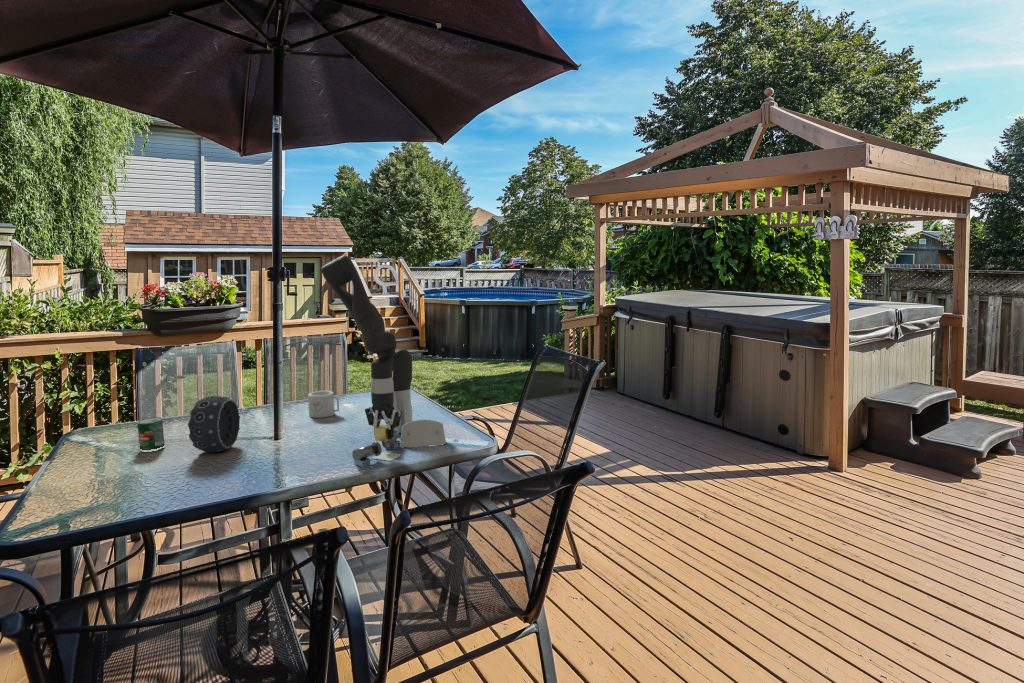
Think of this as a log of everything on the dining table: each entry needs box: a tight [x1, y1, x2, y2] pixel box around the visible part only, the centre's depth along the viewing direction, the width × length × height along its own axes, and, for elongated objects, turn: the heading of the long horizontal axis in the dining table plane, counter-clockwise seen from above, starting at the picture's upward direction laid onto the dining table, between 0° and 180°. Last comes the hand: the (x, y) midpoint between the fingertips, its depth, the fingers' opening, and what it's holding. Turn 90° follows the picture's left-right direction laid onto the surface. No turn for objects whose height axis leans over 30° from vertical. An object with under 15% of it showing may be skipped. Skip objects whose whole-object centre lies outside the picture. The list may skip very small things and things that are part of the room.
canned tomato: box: [136, 416, 166, 450], centre depth 216 cm, size 8×8×11 cm
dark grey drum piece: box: [187, 395, 241, 453], centre depth 213 cm, size 11×20×20 cm, turn 2°
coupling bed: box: [371, 451, 402, 462], centre depth 206 cm, size 7×8×1 cm
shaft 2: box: [381, 430, 401, 450], centre depth 213 cm, size 9×5×6 cm, turn 179°
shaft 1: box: [351, 441, 383, 468], centre depth 199 cm, size 9×5×6 cm, turn 138°
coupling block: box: [373, 423, 389, 442], centre depth 204 cm, size 4×4×4 cm
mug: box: [307, 390, 340, 419], centre depth 259 cm, size 14×11×10 cm
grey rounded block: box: [399, 419, 447, 449], centre depth 219 cm, size 17×5×10 cm, turn 99°
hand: (384, 438), depth 205 cm, fingers closed on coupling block, 4 cm apart
